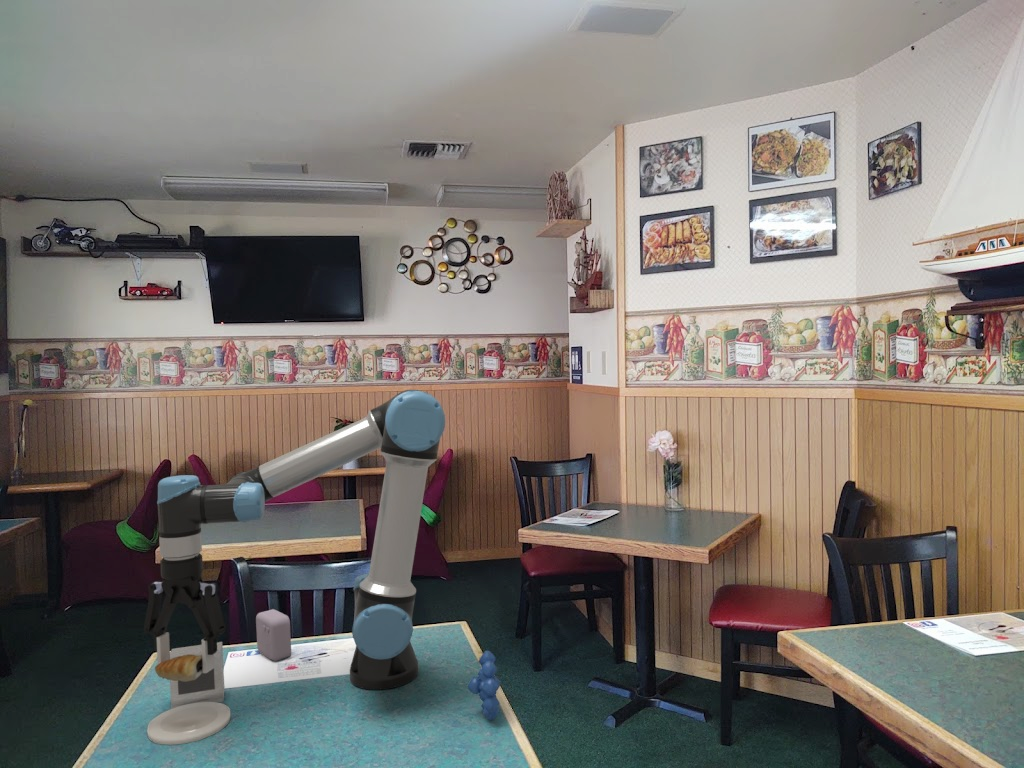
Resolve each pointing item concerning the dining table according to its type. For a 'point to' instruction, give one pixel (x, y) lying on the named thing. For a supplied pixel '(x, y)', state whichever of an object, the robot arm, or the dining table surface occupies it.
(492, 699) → the grapes
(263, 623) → the electronic device
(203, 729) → the plate
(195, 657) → the pastry
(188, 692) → the picture frame
